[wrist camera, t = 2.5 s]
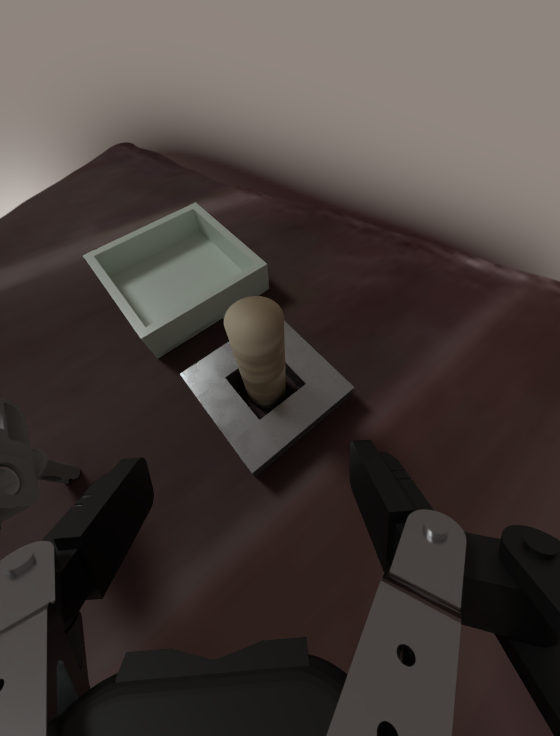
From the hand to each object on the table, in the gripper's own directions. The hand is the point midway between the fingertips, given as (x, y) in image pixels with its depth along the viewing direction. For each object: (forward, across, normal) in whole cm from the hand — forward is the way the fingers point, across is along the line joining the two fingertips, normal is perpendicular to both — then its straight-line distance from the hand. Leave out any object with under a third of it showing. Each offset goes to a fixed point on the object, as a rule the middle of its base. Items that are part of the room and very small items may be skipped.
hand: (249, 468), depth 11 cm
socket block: (+18, 0, +4) cm, 18 cm away
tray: (+29, +10, -8) cm, 32 cm away
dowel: (+18, 0, +4) cm, 18 cm away
